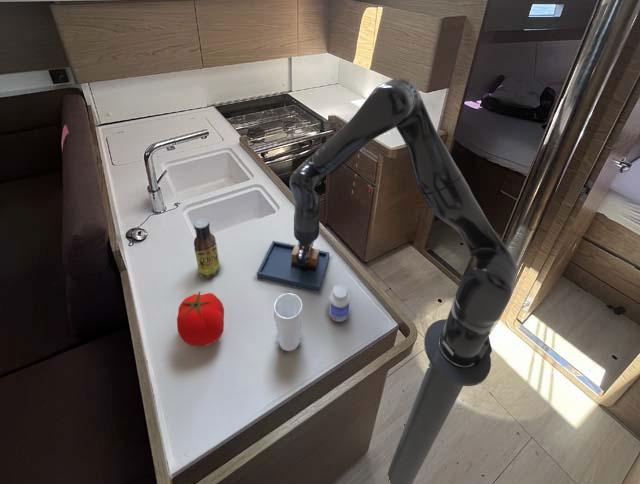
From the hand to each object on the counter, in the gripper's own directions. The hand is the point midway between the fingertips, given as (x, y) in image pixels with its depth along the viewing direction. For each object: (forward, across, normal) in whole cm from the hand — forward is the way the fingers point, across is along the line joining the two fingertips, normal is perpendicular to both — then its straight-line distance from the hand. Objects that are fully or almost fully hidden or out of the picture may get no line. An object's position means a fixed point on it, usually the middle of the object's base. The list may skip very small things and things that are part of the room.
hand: (305, 262), depth 103 cm
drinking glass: (+1, -24, -2) cm, 25 cm away
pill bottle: (+1, -14, -13) cm, 19 cm away
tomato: (+2, -28, +19) cm, 34 cm away
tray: (+1, -2, +3) cm, 4 cm away
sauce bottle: (+2, -10, +28) cm, 30 cm away
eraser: (0, 0, 0) cm, 0 cm away
